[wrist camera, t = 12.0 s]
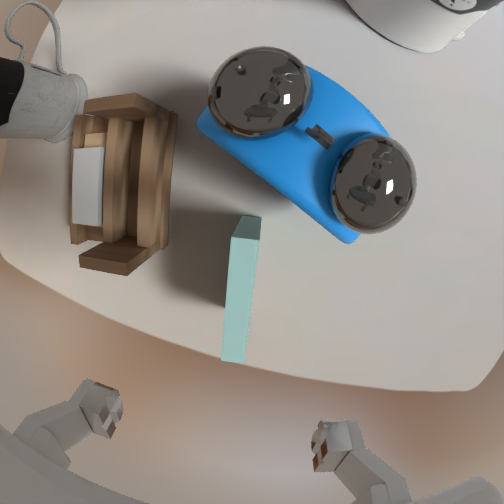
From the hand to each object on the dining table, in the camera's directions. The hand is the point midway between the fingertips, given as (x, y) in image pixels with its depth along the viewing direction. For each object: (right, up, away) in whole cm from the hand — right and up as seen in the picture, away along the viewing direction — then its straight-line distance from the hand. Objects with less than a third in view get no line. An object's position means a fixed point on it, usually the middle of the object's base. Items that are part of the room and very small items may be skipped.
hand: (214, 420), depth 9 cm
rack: (-11, +14, +16) cm, 24 cm away
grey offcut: (-13, +13, +13) cm, 23 cm away
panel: (+1, +5, +18) cm, 19 cm away
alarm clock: (+5, +15, +15) cm, 22 cm away
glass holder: (-20, +26, +13) cm, 35 cm away
